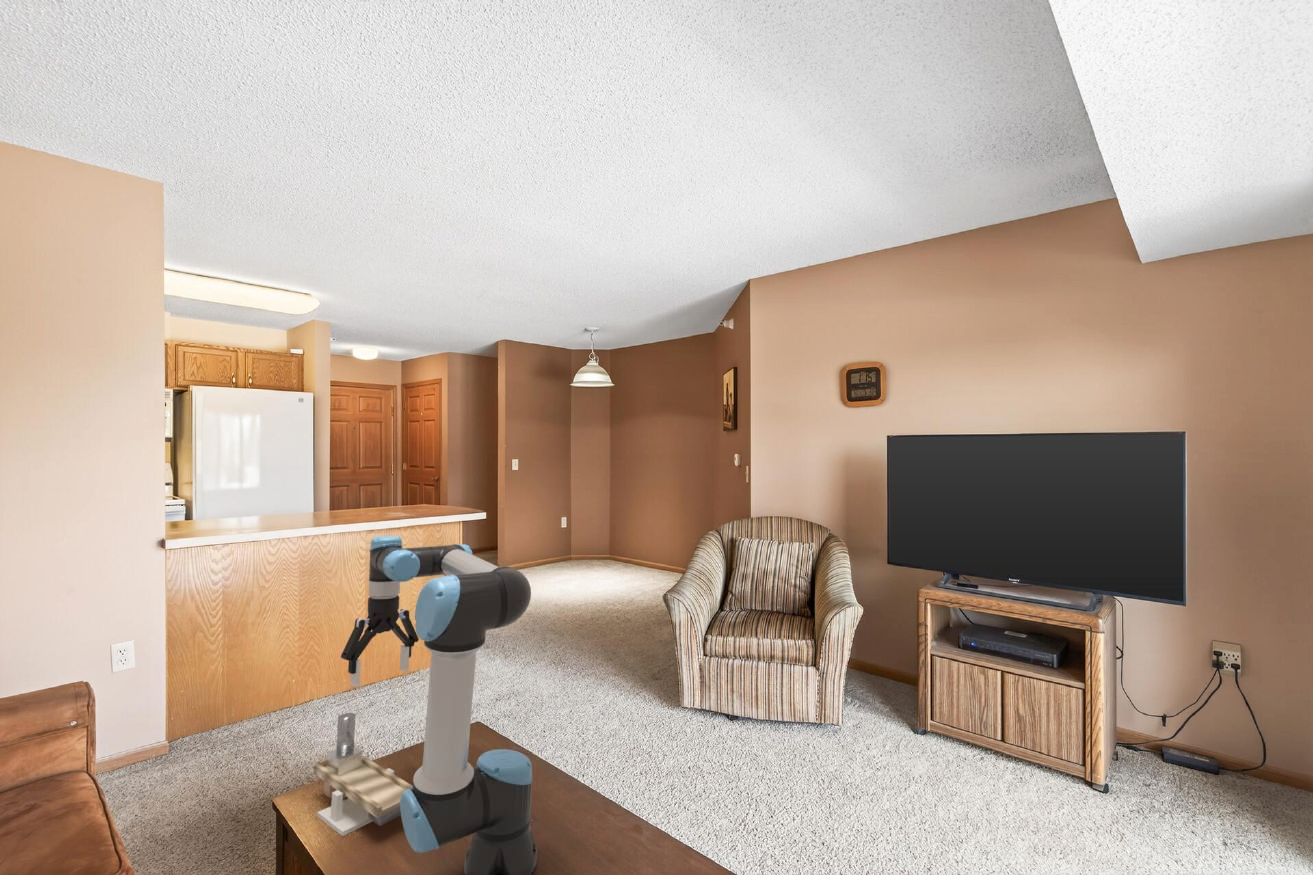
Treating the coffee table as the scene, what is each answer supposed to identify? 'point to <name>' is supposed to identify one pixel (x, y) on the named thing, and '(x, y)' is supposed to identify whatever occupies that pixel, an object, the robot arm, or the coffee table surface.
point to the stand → (343, 812)
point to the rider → (345, 748)
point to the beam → (368, 788)
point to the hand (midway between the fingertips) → (380, 678)
